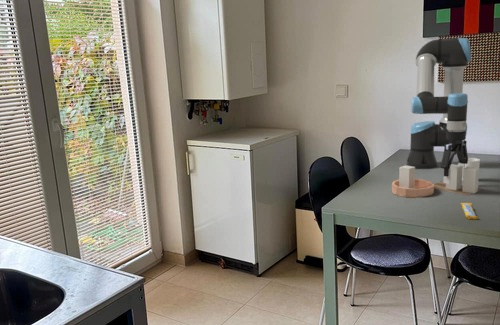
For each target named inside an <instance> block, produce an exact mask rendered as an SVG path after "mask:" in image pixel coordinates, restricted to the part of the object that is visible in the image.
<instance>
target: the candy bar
mask: <svg viewBox="0 0 500 325" xmlns="http://www.w3.org/2000/svg"><path fill="white" fill-rule="evenodd" d="M459 204H460V205H461V208H462V211H463V213H464V216H465V217H466V219H467V220H479V216H478V215H476V212H475V210H474V208H473V203H472V202H460V203H459Z"/></svg>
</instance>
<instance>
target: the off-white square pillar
mask: <svg viewBox="0 0 500 325" xmlns="http://www.w3.org/2000/svg"><path fill="white" fill-rule="evenodd" d="M479 173H480V167H479V168H475V167H466V168H464V169H463V180H462V186H463V189H462V192H468V193H473V194H475V193H477V191H478V189H479V178H480V177H479V176H480V174H479ZM478 192H479V191H478Z"/></svg>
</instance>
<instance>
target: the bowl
mask: <svg viewBox="0 0 500 325" xmlns="http://www.w3.org/2000/svg"><path fill="white" fill-rule="evenodd" d="M434 184H435V183H434V182H431V181H429V180H425V179H421V178H420V179H419V178H415V189H410V188H403V187H399V179H396V180H394V181H392V183H391V193H392V194H393V195H395V196H398V197H401V198H406V199H416V198H420V197H422V198H424V197H428V196H431V195H434V193H435V189H434Z"/></svg>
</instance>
